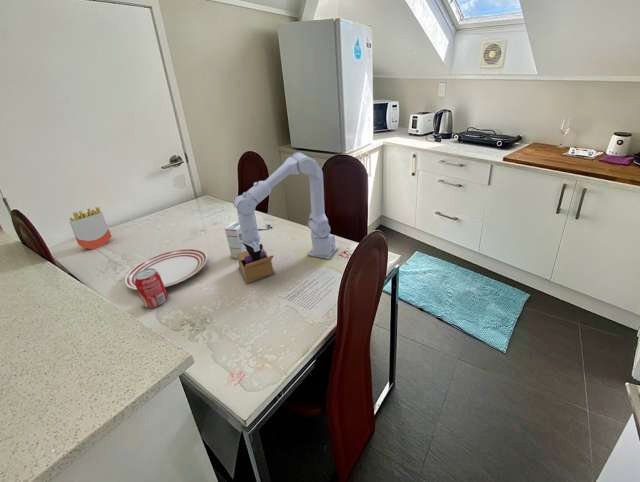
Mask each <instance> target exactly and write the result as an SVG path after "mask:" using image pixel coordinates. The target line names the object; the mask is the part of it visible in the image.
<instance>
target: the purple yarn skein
mask: <svg viewBox="0 0 640 482" xmlns="http://www.w3.org/2000/svg"><path fill="white" fill-rule="evenodd" d="M266 254H267V253H266ZM266 254H265V253H264V251H261V254H260V260H261V259H264V258H266ZM245 262H246V264H249V263H252V262H253V260H252V258H251V255H249V256H246V257H245ZM258 265H259V264H258ZM255 266H256V265H255ZM252 267H253V266H252Z"/></svg>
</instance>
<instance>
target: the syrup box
mask: <svg viewBox="0 0 640 482" xmlns="http://www.w3.org/2000/svg"><path fill="white" fill-rule="evenodd" d="M224 232H225V236H226V240H227V245H228V248H229V252H230V257H231V258H233V259H238V258H237V254H238V253H242V252H245V251H247V250H246V247H245V245H244V244H240V242H239V240H242V239H243V238H242V234H241V229H240V224H239V221H232V222H231V223H230V224H228V225H226V226H225V227H224Z"/></svg>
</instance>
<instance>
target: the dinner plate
mask: <svg viewBox="0 0 640 482" xmlns="http://www.w3.org/2000/svg"><path fill="white" fill-rule="evenodd" d="M207 262H208V254H207V253H206V251H204V250H202V249H199V248H190V247H189V248H178V249H172V250H169V251H165V252H162V253H159V254H156V255H154V256H150V257H149V258H147V259H145V260H143V261H142V262H139V263H138V264H136V265H135V266H134V267H132V268H131V269H130V270H129V271H128V272H127V274H126V275H125V277H124V284H125V286H126V287H127V288H129V289H131V290H135V291H137V288H136V285H135V275H136V274H137V273H138V272H140V271H142V270H145V269H150V268H153V269H155V270H156V271H157V272H158V273H159V274H160V276H161V279H162V282H163V284H164V287H165V288H168V287H172V286H175V285H177V284H179V283H182V282H184V281H186V280H188V279H190V278H191V277H193V276H194V275H196V274H197V273H198V272H200V271H201V270H202V268H203V267H204V266H205V265H206V263H207Z"/></svg>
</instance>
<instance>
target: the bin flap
mask: <svg viewBox="0 0 640 482" xmlns="http://www.w3.org/2000/svg"><path fill="white" fill-rule="evenodd" d="M273 257H274V256H273V255H270V256H268V257H267V258H264V259H261V260H258V261H255V262H252V263H249V264H246V265H245V268H244V269H247V268H250V267H252V266H255V265H258V264H261V263H264V262H267V261H270V260H271V261H272V259H273Z"/></svg>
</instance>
